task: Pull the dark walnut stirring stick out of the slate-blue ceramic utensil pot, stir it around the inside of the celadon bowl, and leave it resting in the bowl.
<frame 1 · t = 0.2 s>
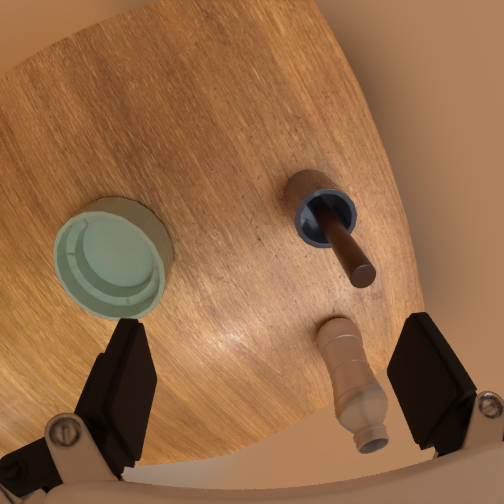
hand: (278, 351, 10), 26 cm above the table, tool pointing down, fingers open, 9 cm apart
plastic bottle: (334, 328, 45), on the table
bowl: (120, 249, 38), on the table
stirring stick: (313, 199, 33), point 2 cm above the table, touching utensil pot
utensil pot: (309, 194, 35), on the table
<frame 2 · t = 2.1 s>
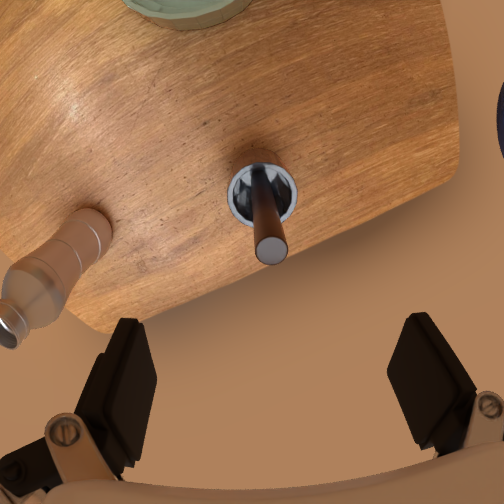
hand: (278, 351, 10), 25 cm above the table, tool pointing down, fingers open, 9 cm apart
plastic bottle: (94, 227, 36), on the table
stirring stick: (259, 179, 31), point 2 cm above the table, touching utensil pot
utensil pot: (258, 174, 33), on the table
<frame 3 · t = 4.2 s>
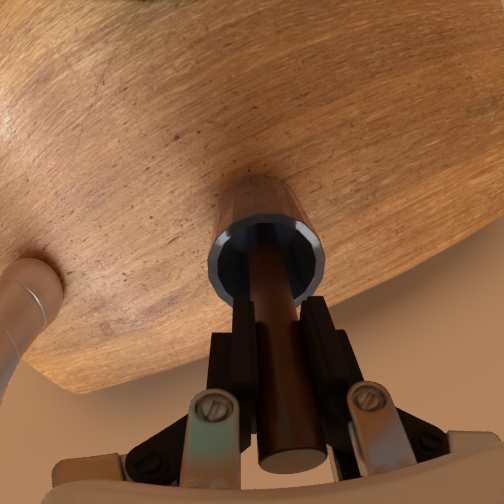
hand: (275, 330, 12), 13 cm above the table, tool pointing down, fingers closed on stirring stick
plastic bottle: (43, 278, 25), on the table
stirring stick: (260, 223, 21), point 2 cm above the table, touching gripper, utensil pot
utensil pot: (258, 213, 23), on the table
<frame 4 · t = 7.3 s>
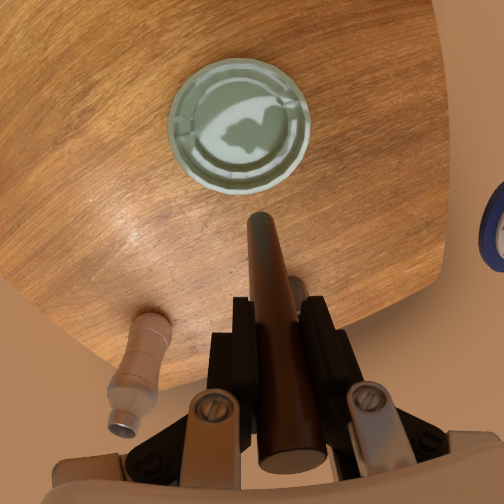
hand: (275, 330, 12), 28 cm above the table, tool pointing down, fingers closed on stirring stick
plastic bottle: (154, 322, 47), on the table
bowl: (239, 123, 34), on the table
stirring stick: (260, 224, 21), point 18 cm above the table, touching gripper
utensil pot: (287, 293, 45), on the table
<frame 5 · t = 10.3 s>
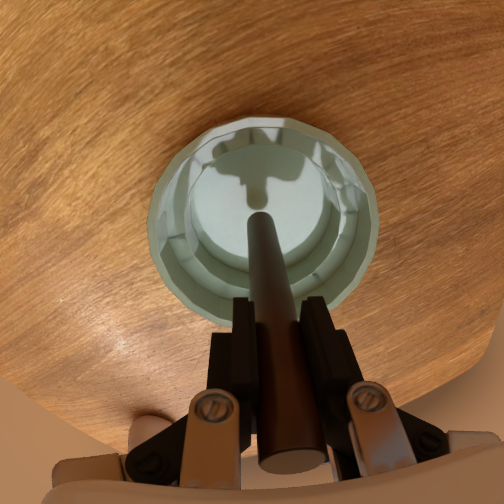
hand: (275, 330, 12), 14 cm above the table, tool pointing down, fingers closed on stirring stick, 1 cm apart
plastic bottle: (156, 421, 36), on the table
bowl: (261, 209, 24), on the table
stirring stick: (260, 223, 21), point 3 cm above the table, touching gripper
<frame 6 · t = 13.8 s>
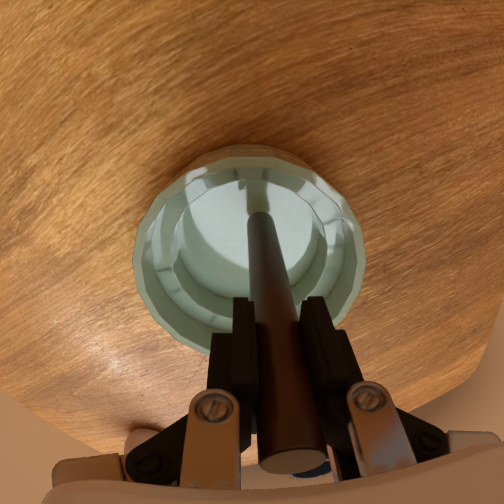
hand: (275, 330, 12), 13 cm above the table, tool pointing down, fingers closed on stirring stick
plastic bottle: (151, 433, 36), on the table
bowl: (248, 239, 24), on the table
stirring stick: (260, 223, 21), point 2 cm above the table, touching gripper
utensil pot: (304, 414, 34), on the table
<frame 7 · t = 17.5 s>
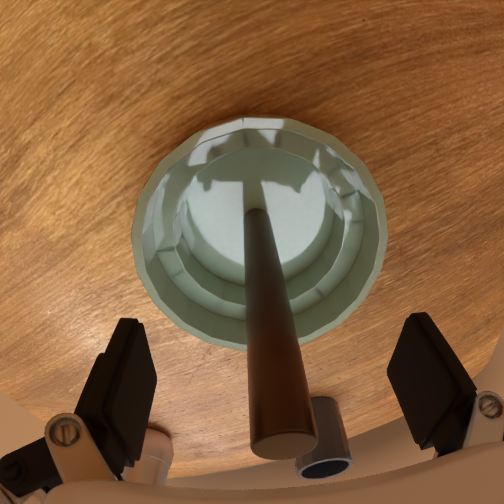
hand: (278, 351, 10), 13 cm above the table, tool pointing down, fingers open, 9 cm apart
plastic bottle: (151, 433, 35), on the table
bowl: (257, 217, 22), on the table
stirring stick: (256, 220, 21), resting on bowl
utensil pot: (313, 411, 32), on the table
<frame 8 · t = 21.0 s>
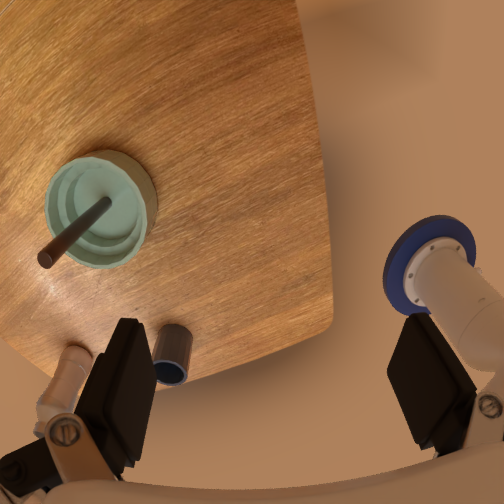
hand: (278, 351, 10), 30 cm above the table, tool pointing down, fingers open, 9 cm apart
plastic bottle: (80, 352, 51), on the table
bowl: (108, 201, 39), on the table
stirring stick: (106, 202, 38), resting on bowl
utensil pot: (175, 337, 49), on the table
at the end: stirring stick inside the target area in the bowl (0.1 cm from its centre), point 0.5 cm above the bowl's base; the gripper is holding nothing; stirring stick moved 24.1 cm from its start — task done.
